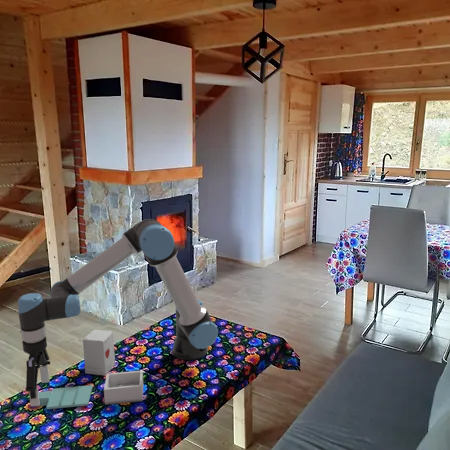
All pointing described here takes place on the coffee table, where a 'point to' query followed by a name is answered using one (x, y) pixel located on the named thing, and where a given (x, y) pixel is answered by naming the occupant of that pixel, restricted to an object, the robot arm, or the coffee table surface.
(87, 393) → the lid
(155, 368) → the coffee table surface
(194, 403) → the coffee table surface
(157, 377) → the coffee table surface
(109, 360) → the supplement box
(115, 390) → the tub
